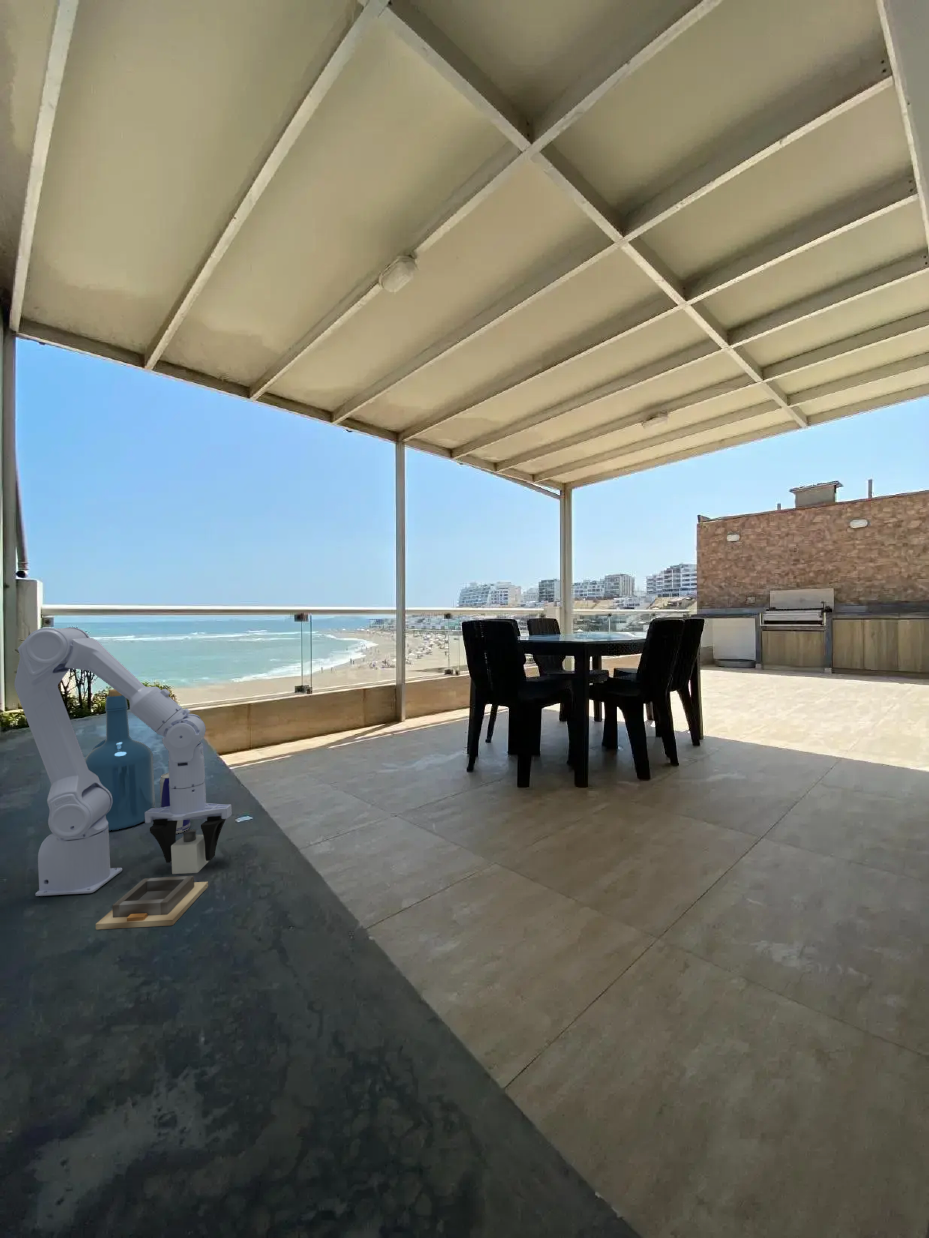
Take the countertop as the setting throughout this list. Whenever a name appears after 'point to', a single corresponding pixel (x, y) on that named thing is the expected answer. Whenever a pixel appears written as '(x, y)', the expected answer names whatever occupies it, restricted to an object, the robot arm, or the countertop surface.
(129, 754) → the blue bottle
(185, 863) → the plug
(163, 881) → the socket
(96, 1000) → the countertop surface
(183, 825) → the energy drink
